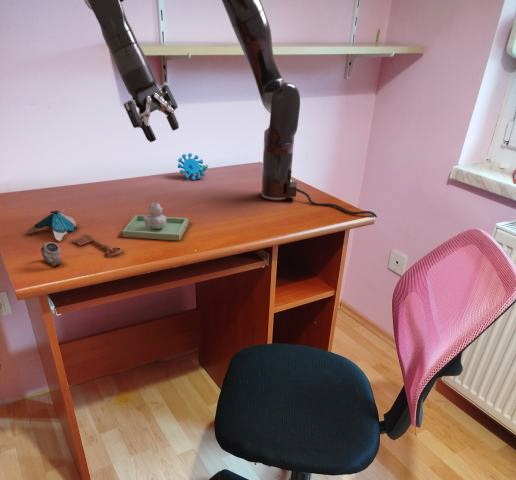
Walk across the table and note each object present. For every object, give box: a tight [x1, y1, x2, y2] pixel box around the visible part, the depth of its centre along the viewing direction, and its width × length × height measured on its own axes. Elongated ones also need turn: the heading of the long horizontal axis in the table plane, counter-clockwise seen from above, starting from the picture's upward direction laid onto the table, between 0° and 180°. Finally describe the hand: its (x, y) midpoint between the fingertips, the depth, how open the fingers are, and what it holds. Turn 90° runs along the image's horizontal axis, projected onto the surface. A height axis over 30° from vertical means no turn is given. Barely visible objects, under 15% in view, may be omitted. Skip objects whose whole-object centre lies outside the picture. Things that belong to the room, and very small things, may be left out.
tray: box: [121, 214, 190, 242], centre depth 130 cm, size 15×12×2 cm
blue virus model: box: [177, 152, 209, 181], centre depth 170 cm, size 11×6×10 cm
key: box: [72, 233, 123, 256], centre depth 120 cm, size 6×1×15 cm
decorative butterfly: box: [26, 210, 77, 242], centre depth 126 cm, size 10×6×10 cm
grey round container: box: [40, 241, 62, 267], centre depth 111 cm, size 4×6×5 cm, turn 49°
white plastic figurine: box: [143, 199, 167, 229], centre depth 128 cm, size 5×7×8 cm
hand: (164, 135), depth 126 cm, fingers open, 8 cm apart
